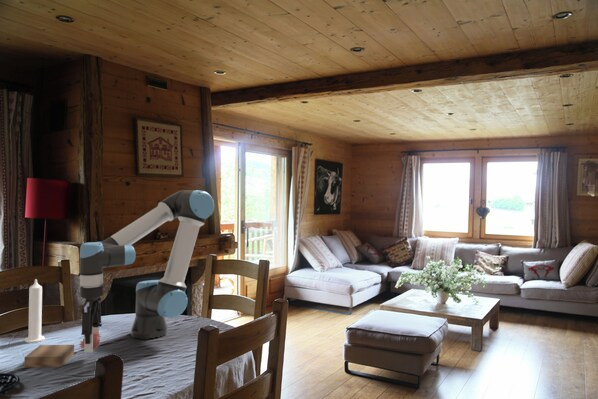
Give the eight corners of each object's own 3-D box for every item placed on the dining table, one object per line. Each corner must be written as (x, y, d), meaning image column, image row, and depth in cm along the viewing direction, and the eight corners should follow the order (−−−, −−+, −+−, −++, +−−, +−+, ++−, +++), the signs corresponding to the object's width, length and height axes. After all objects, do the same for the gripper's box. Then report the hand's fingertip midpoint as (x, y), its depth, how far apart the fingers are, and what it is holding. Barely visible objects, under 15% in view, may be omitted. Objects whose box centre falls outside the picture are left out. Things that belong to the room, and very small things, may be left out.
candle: (48, 338, 184) (49, 278, 184) (33, 343, 177) (34, 281, 177) (36, 336, 186) (37, 276, 186) (20, 341, 180) (21, 279, 179)
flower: (103, 335, 160) (96, 324, 162) (81, 348, 155) (74, 337, 158) (107, 346, 165) (100, 335, 168) (86, 359, 161) (79, 347, 164)
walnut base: (73, 355, 168) (74, 344, 168) (61, 367, 156) (61, 356, 156) (39, 355, 166) (40, 345, 166) (24, 368, 154) (24, 357, 154)
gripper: (89, 279, 171) (90, 339, 171) (70, 292, 151) (71, 359, 152) (110, 279, 172) (110, 338, 172) (93, 291, 152) (94, 358, 153)
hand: (92, 348), depth 162 cm, fingers closed on flower, 6 cm apart
